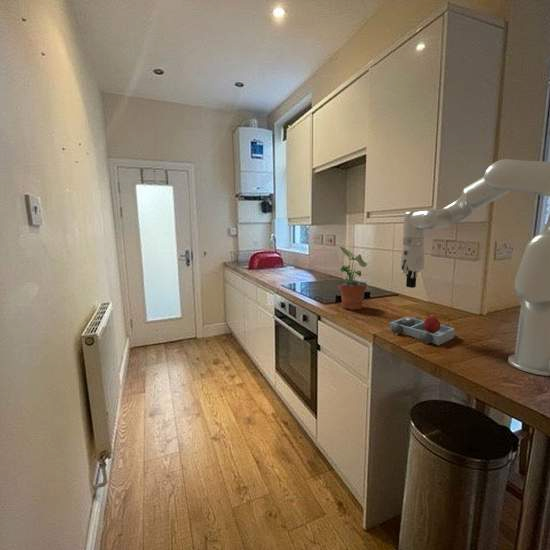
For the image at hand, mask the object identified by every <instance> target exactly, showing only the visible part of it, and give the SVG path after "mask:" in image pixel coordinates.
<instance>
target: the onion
mask: <svg viewBox="0 0 550 550" xmlns="http://www.w3.org/2000/svg"><path fill="white" fill-rule="evenodd" d="M423 321H424V328H425V330H426V331H427V332H429V333H432V334H434V333H435V332H437V331H438V330H439V329H440V325H441V322H440V321H439V319H438V318H437V317H435V314H431V315H430V316H428V317H427V318H425V320H423Z"/></svg>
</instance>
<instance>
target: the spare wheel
mask: <svg viewBox="0 0 550 550" xmlns="http://www.w3.org/2000/svg"><path fill="white" fill-rule="evenodd" d="M403 318H404V317H403ZM402 325H404V326H409V327H411V326H414V325H415V320H413V319H410V318H404V319H402Z"/></svg>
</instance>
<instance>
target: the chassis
mask: <svg viewBox="0 0 550 550" xmlns="http://www.w3.org/2000/svg"><path fill="white" fill-rule="evenodd" d="M404 318H410V319H413V320H415V325H414V326H411V327H409V326H404V325H402V319H404ZM424 321H425V320H422V318H420V317H419V316H415V317H410V316H404V317H402V318H399V319H396V320H393V321H391V322H389V330H390V329H391V330H392V331H391V333H392V332H394V333H397V334H399V335H402V334H401V333H403V334H406V335H409V336H412V337H415V338H414V339H416V338H418V339H417V340H419V339H420V340H419V341H420V342H421V343H422V344H424V343H425V344H424V345H428V344H432V343H433V345H435V344H436V346H441V345H443V344H445V343H446V342H448V341H451V340H452V339H454V338H455V333H456V328H454V327H451V325H449V324H446V323H443V324H440V329H439V330H438V331H437V332H435V333H434V334H432V333H429V332H427V331H426V330H425V328H424ZM406 335H405V336H406ZM409 336H408V337H409ZM412 337H411V338H412ZM440 344H441V345H440Z"/></svg>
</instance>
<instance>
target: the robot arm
mask: <svg viewBox="0 0 550 550" xmlns="http://www.w3.org/2000/svg"><path fill="white" fill-rule="evenodd" d="M511 192H513V193H514V192H515V193H522V194H523V193H524V194H529V195H530V194H531V195H535V196H536V195H537V196H545V197H550V161H540V160H519V159H510V158H509V159H508V158H506V159H503V158H502V159H500V160H497V161H494V162H493V163H491V164H490V165H489V166H488V167H487V168H486V170H485V172H484V175H483V176H482V177H480V178H479V179H477V180H475V181H473V182H471V184H469V185H467V186H465V187H464V188H463V190H462V193H461V196H459V198H458V199H457V200H455V201H453V202H452V203H450V204H448V205H446V206H444V207H443V208H433V209H432V208H430V209H424V210H408V211H405V213H404V215H403V232H402V233H403V234H402V235H403V237H402V252H401V260H400V268H401V270H402V273H403V275H405V278H406V281H405V283H406V284H405V286H406V287H407V288H411V289H414V288H416V287H417V286H416V285H417V284H416V283H417V278H418V273H419V272H421V271H422V270H423V269H425V247H424V240H425V239H424V238H425V230H426V231H431V230H443V229H447V228H450V227H452V226H453V225H455V224H458V222H461V221H462V220H464V219H467V218H468V217H469V216H471V215H472V214H473V213H476V212H477V210H479V209H481V208H482V207H484V206H487V205H488V204H490V203H491V202H493V201H496V200H497V199H499V198H502V197H504V196H505V195H507V194H509V193H511ZM514 289H515V292H516V294H517V295H518V297H519V298H521V299H522V301H521V304H520V312H519V319H518V326H517V332H516V333H517V335H516V343H515V350H514V354H512V355H509V356H508V359H507V362H508V363H509V365H511V366H512V367H514V368H516V369H518V370H521V371H524V372H527V373H529V374H534V375H539V376H545V377H549V376H550V213H549V214H548V217H547V221H546V223H545V226H544V229H543V230H542V232H540V233H538V234H536V235H535V236H533V238H531V239H530V240H529V242H528V244H527V245H526V247H525V250H524V252H523V256H522V259H521V261H520V264H519V268H518V271H517V273H516V276H515V280H514Z"/></svg>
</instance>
